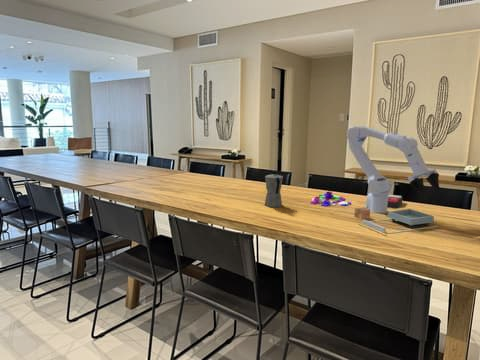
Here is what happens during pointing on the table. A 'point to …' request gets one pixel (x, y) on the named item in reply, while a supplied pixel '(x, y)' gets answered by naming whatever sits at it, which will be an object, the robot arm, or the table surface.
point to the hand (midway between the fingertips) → (431, 193)
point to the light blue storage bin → (410, 217)
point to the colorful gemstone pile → (329, 200)
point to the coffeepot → (273, 190)
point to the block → (362, 213)
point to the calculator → (394, 201)
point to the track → (383, 229)
